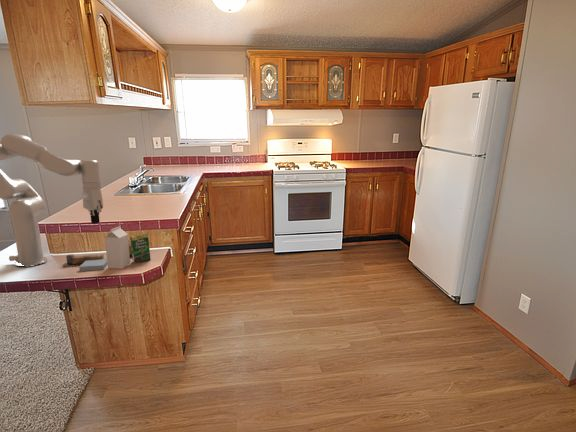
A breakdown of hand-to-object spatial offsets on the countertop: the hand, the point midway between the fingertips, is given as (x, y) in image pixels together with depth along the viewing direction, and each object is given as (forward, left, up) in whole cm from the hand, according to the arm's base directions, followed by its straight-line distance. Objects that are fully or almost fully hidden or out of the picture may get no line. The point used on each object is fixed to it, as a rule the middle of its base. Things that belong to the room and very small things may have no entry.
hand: (95, 223), depth 166 cm
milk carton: (+12, -12, -19) cm, 25 cm away
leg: (-5, -3, -19) cm, 20 cm away
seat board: (+1, -10, -19) cm, 22 cm away
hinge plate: (-11, -4, -19) cm, 23 cm away
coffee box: (+21, -6, -19) cm, 29 cm away
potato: (+14, +6, -19) cm, 25 cm away
